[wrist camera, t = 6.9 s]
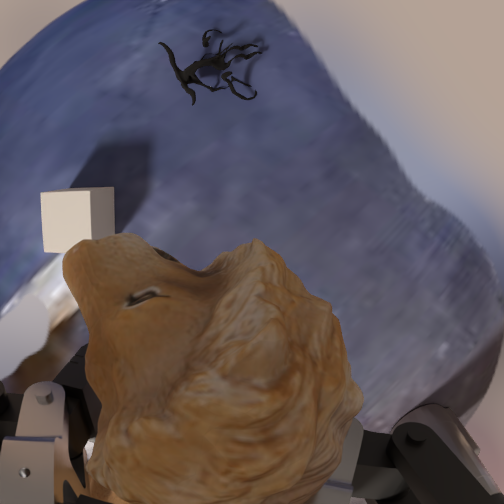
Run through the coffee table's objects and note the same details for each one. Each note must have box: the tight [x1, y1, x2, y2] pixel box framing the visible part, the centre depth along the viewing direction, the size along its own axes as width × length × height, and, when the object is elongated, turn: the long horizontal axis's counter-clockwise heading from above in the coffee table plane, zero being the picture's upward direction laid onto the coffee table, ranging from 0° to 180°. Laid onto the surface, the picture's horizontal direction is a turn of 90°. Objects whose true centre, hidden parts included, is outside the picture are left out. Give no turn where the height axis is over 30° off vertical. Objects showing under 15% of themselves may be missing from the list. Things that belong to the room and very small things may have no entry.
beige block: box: [41, 187, 115, 253], centre depth 25 cm, size 5×5×5 cm
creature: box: [158, 30, 262, 105], centre depth 22 cm, size 8×5×8 cm
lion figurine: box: [63, 233, 364, 504], centre depth 8 cm, size 15×5×9 cm, turn 157°
